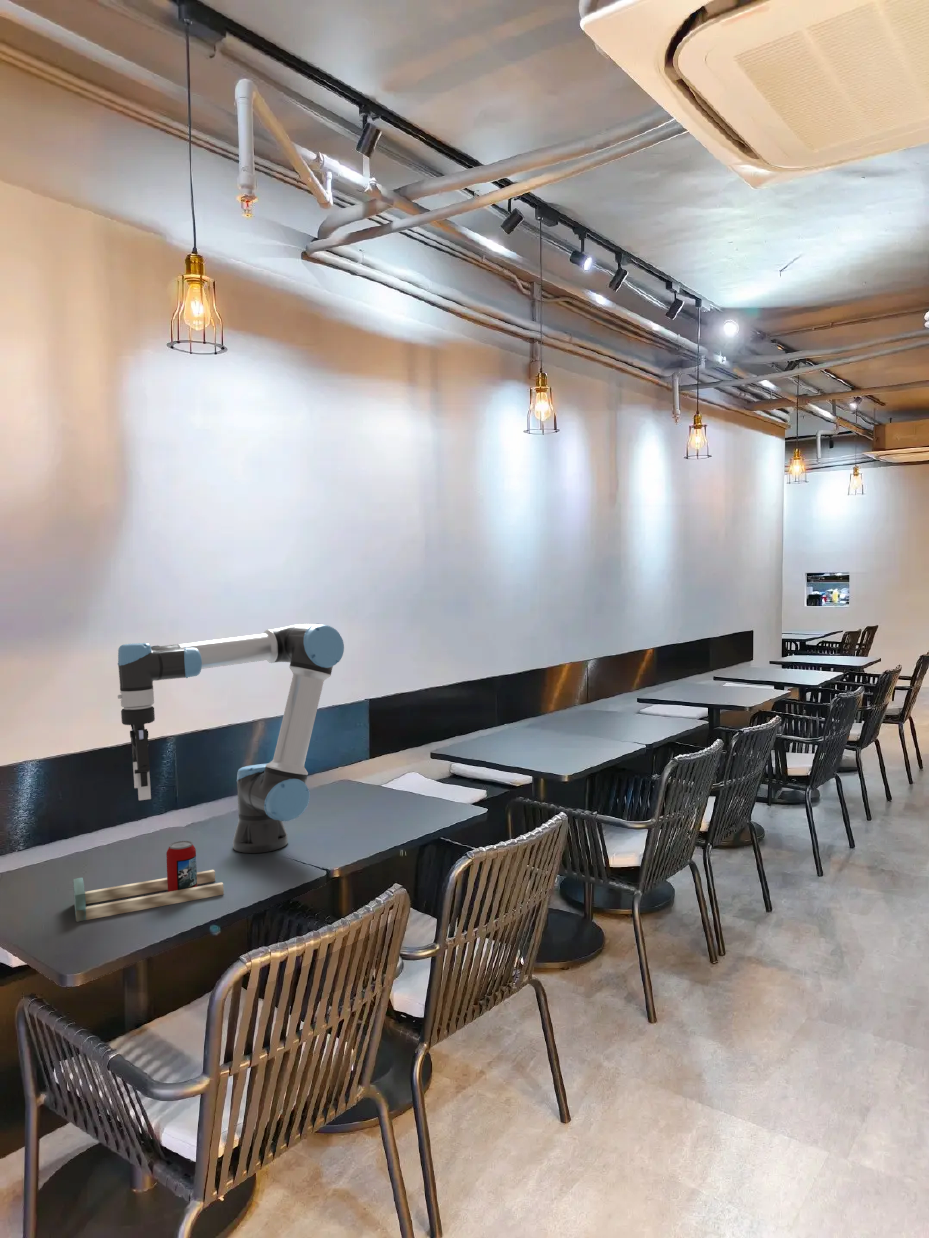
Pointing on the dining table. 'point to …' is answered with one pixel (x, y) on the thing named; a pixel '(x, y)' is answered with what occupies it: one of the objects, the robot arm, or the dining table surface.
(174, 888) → the beverage can
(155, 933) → the dining table surface
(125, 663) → the robot arm
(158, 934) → the dining table surface
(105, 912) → the channel
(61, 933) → the dining table surface
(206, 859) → the dining table surface
